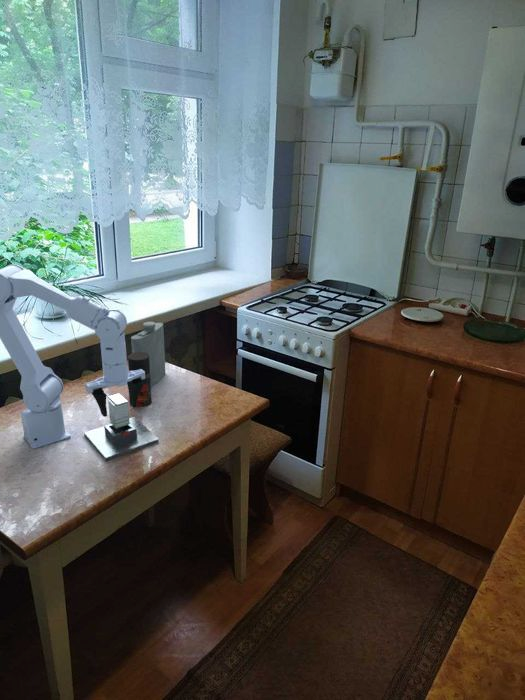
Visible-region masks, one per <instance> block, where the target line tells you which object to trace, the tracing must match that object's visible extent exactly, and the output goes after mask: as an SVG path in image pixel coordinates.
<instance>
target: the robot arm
mask: <svg viewBox="0 0 525 700" xmlns="http://www.w3.org/2000/svg"><path fill="white" fill-rule="evenodd" d="M29 296H32V297H34V298H36V299H38V300H40V301H43V302H46V303H48V304H50V305H52V306H55V307H57V308H60V309H62V310H64V311H65V313H66V316H67V317H68V318H69V319H71V320H73V321H74V322H77V323H78V324H80V325H83V326H85V327H86V328H89V329H91V330H92V331H94V333H95V334H96V336H97V337H98V338H99V340H100V353H101V362H102V365H101V366H102V375H103V376H101V377H99V378H98V377H97V379H94V380H92V381H89V382H86V383H85V392H86V393H88V394H89V395H90V394H91V395H92V396H93V398H94V400H95V401H96V403H97V406H98V407H99V411H100V414H101V415H102V416H103V417H104V418H106V417H108V411H107V410H108V408H107V398H108V397H107V396H108V395H107V394H106V393H105V391H104V389H106V388H111V387H115V386H117V387H123V386H127V388H128V389H127V390H128V396H129V397H128V398H129V400H128V403H129V405H130V407H132V409H135V408H137V407H136V404H137V399H138V396H139V393H140V391H141V389H142V387H143V381H142V380H141V379H145V372H144V371H143V370H142V369H140V370H134V371H129V369H128V355H127V346H126V345H127V344H126V337H125V336H126V335H125V332H124V330H125V329H126V328H127V325H128V324H127V323H128V321H127V317H126V315H125V314H124V313H123V312H121V311H120V310H119V309H116V308H112V309H110V308H109V307H107V306H104V307H103V306H101V305H99V304H97V303H96V302H94V301H92V300H91V297H89V296H87V295H85V296H82V295H76V296H71V295H69V294H67V293H66V292H64V291H62V290H61V289H59V288H57V287H56V286H54V285H52V284H51V283H49V282H47V281H45V280H44V279H42V278H40V277H39V276H37V275H36V274H35V273H34V272H33V271H32V270H30V269H28V268H24V267H23V266H21V265H19V264H16V263H11V264H7V265H5V267H2V268H0V340H1V342H2V344H3V346H4V347H5V350H6V351H7V354H8V355H9V356H10V358H11V360H12V361H13V364H14V366H16V370H18V372H19V374H20V376H21V380H20V386H19V390H20V391H21V394H22V401H23V404H24V406H25V407H26V408H25V409H23V410H21V411H20V418H21V423H22V424H21V425H22V429H23V436H24V438H25V440H26V441H27V443H28V444H29V446H30V448H31V449H32V450H33V449H38V448H41V447H44V446H48V445H50V444H54V443H57V442H60V441H62V440H63V441H64V440H66V439H67V440H68V439H70V438H71V436H72V435H71V433H70V432H69V431H68V430H67V429H66V428H65V421H64V414H63V406H62V400H61V394H62V393H63V391H64V388H65V387H64V382H63V380H62V379H61V378H60V377H59V376H58V375H56V374H55V373H54V371H53V369H52V368H51V367H48V366H46V365H44V364H43V362H42V361H41V358H40V357H39V355H38V353H37V351H36V350H35V348H34V346H33V344H32V342H31V340H30V338H29V336H28V335H27V333H26V331H25V329H24V327H23V325H22V324H21V322H20V320H19V318H18V317H17V315H16V312H15V311H14V306H15V303H16V301H17V299H18V298H22V297H24V298H25V297H29Z"/></svg>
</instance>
